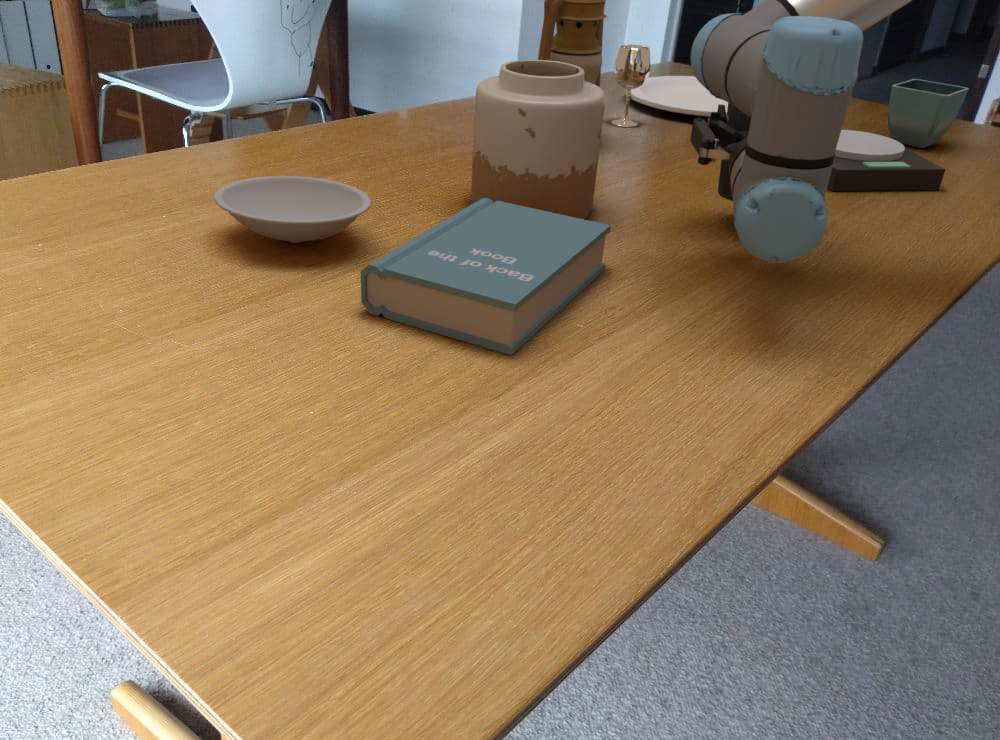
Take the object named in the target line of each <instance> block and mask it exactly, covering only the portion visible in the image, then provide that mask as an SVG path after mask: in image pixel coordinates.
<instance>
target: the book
mask: <svg viewBox="0 0 1000 740" xmlns="http://www.w3.org/2000/svg"><path fill="white" fill-rule="evenodd" d="M610 232H611V225H610V224H606V223H601V222H597V221H592V220H587V219H584V220H583V219H579V218H574V217H570V216H565V215H561V214H556V213H552V212H547V211H543V210H538V209H533V208H529V207H524V206H520V205H515V204H511V203H506V202H502V201H496V202H494V203H493V202H492V200H491V199H488V198H482V199H480V200H479V201H477V202H475V203H473V204H472V203H471V204H470V205H468V206H467V207H465V208H463V209H461V210H460V211H458V212H456V213H455V214H453V215H451V216H449V217H448V218H446V219H445V220H442V221H441V222H439V223H437V224H436V225H434V226H433V227H431V228H429V229H427V230H426V231H424V232H422V233H421V234H418V235H417V236H416V237H414V238H412V239H410V240H408V241H407V242H405V243H403V244H402V245H400V246H398V247H396V248H395V249H393V250H391V251H390V252H388V253H386V254H384V255H383V256H381V257H379V258H378V259H376V260H374V261H373V262H371V263H370V264H368V265H366V266H365V267H364V268H362V270H360V298H361V299H360V302H361V304H362V305H363V307H364V308H365V309H366V310H367V312H368V313H369V314H370V315H374V316H379V315H382V316H383V317H384V318H385V319H388V320H391V321H394V322H398V323H401V324H404V325H408V326H411V327H415V328H418V329H421V330H425V331H428V332H432V333H434V334H438V335H441V336H444V337H448V338H452V339H455V340H458V341H461V342H465V343H468V344H472V345H475V346H478V347H482V348H485V349H488V350H492V351H495V352H499V353H502V354H506V355H509V356H513V355H514V354H515V353H516V352H517V351H518V350H519V349H521V347H522V346H523V345H525V344H526V343H527V342H528V341H529V340H530V339H531V338H532V337H534V335H536V334H537V333H538V332H539V331H540V330H541V329H542V328H543V327H544V326H545V325H546V324H548V323H549V322H550V321H551V320H552V319H553V318H554V317H556V315H557V314H558V313H560V311H562V310H563V309H564V308H566V306H567V305H568V304H569V303H571V301H573V299H574V298H576V297H577V296H578V295H579V294H580V293H582V292H583V290H584V289H585V288H587V287H588V286H589V285H590V284H591V283H592V282H594V280H595V279H596V278H597V277H598V276H600V275H601V274H602V273H603V272H604V271H605V270H606V263H605V262H603V257H604V251H605V242H606V236H607V235H608V234H609V233H610Z"/></svg>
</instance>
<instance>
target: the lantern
mask: <svg viewBox="0 0 1000 740" xmlns="http://www.w3.org/2000/svg"><path fill="white" fill-rule="evenodd" d="M606 2H607V0H544V1H543V13H544V14H543V22H542V28H541V34H540V35H541V36H540V42H539V49H538V55H537V60H549V61H558V62H564V63H569V64H573V65H576V66H579V67H581V68H582V69H583V70H584V73H585V76H584V81H586V82H589V83H592V84H594V85H596V86H598V87H600V88H601V77H602V75H601V73H602V66H603V56H602V54H603V52H602V51H603V40H604V39H603V36H604V19H606V18H607V17H608V15H607V14H606V13H605V6H606ZM555 27H556V28H555ZM555 29H556V33H555Z"/></svg>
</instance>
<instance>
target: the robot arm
mask: <svg viewBox="0 0 1000 740" xmlns="http://www.w3.org/2000/svg"><path fill="white" fill-rule="evenodd" d="M912 1H913V0H764V1H763V2H761V3H760V4H759V5H757V6H755V7H754V8H752V9H750V10H749V11H747V12H746V13H742V12H737V13H735V12H733V13H725V14H720V15H718V16H716V17H714V18H712V19H711V20H709V21H708V22H707V23H706V24H705V25H703V27H702V28H701V29H700V30H699V32H698V33H697V35H696V36H695V38H694V40H693V42H692V46H691V49H690V66H691V70H692V74H693V76H695V77H696V79H697V80H698V81H699V82H700V83H701V84H702V85H703V86H704V87H705V88H706V89H707V90H708V91H709V92H710V93H711V95H713V96H715V97H716V98H719V99H722V100H724V101H726V102H728V103H730V104H731V105H733V106H735V107H736V108H737V109H739V110H740V111H742V112H743V113H745V114H746V115H748V116H749V117H751V123H750V128H749V132H748V131H737V130H736V129H734V128H733V127H731V126H729V125H728V124H726V119H727V117H726V109H725V105H720V104H719V105H718V110H717V112H711V115H710V116H709V117H707V122H706V120H705V119H703V118H702V117H696V118H694V119H693V123H692V126H691V127H692V128H691V133H690V140H689V142H690V143H691V145H692V146H693V148H694V150H695V151H696V153H697V154H698V160H697V163H698V164H699V165H702V166H707V165H710V163H715V162H716V161H717V160H720V161H721V160H723V162H724V164H725V165H726V166H728V167H729V174H730V182H731V190H732V197H733V201H732V204H733V216H732V223H733V224H734V225H733V227H734V229H735V231H736V235H737V237H738V239H739V241H740V243H741V244H742V246H743V247H744V248H745V250H746V251H747V252H748V253H749V254H750V255H752V256H753V257H754V258H757V259H758V260H761V261H764V262H769V263H772V264H775V263H778V264H779V263H780V264H781V263H788V262H792V261H795V260H798V259H801V258H802V257H804V256H806V255H807V254H809V253H810V252H812V250H814V249H815V248H816V247H817V245H818V244H819V243H820V242H821V240H822V239H823V236H824V234H825V232H826V230H827V225H828V213H829V209H828V208H827V205H828V203H827V201H826V199H825V198H826V193H827V190H828V188H827V186H828V182H829V179H830V175H831V171H832V167H833V163H834V161H833V160H834V156H835V150H836V147H837V143H838V140H839V136H840V133H841V130H843V126H844V122H845V118H846V115H847V112H848V108H849V105H850V103H851V102H850V101H851V97H852V95H853V91H854V88H855V84H856V83H857V81H858V76H859V72H858V70H859V64H860V59H861V58H860V57H861V53H862V48H863V43H864V34H863V32H865V31H866V30H868V29H869V28H871V27H872V26H874V25H877V23H879V22H881V21H882V20H884V19H885V18H887V17H889V16H890V15H891V14H893V13H895V12H896V11H898V10H900V9H901V8H903V7H904V6H906V5H907V4H910V2H912Z"/></svg>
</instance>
